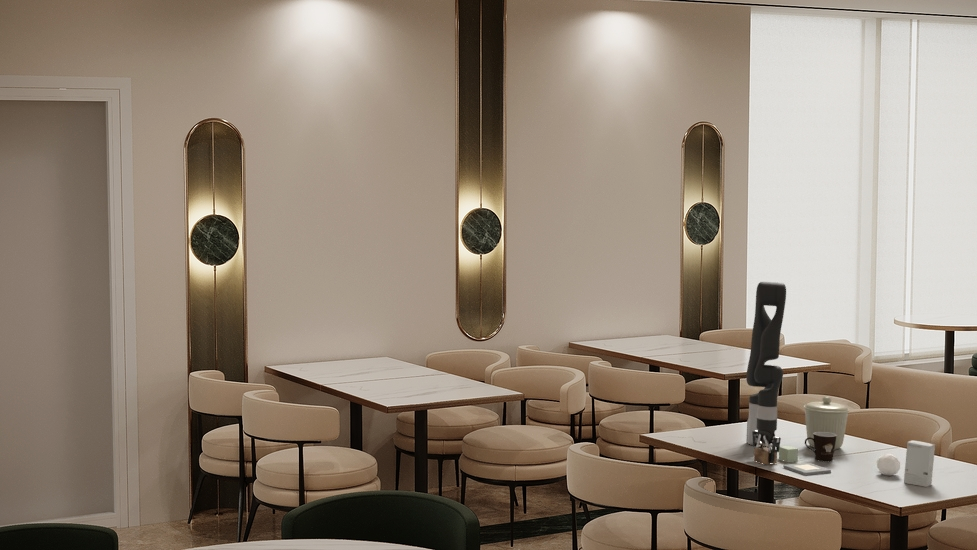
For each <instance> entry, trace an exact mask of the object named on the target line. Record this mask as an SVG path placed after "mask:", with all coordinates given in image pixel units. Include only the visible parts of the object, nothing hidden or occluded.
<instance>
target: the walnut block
mask: <svg viewBox="0 0 977 550" xmlns="http://www.w3.org/2000/svg"><path fill="white" fill-rule="evenodd" d="M771 450H772V448H771ZM768 456H769V451H768V448H767V447H763V448H756V447H754V452H753V462H754V461H757V462H760V463H763V464H769V465H771V464H770V463H769V462H768ZM777 460H778V452H776V453H775V459H774V463H777V462H778V461H777ZM757 462H756V463H757ZM760 463H759V464H760ZM763 464H762V465H763ZM777 464H778V463H777Z"/></svg>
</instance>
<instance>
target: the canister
mask: <svg viewBox="0 0 977 550" xmlns="http://www.w3.org/2000/svg"><path fill="white" fill-rule="evenodd" d="M821 400H822V401H810V402H808V403H806V404H803V409H804V412H805V413H804V415H805V427H806V428H805V429H806V439H807V438H809V437H811V438H813V439H814V436H813V433H815V432H828V433H833V434H836V435H837V436H836V443H835V449H834V451H835V450H838V449H839V450H840V449H841V447H842V446H843V444H844V438H845V434H846V428H847V421H848V414H849V412H850V411H851V409H850V408H849V407H847V406H846V405H844V404H842V403H839V402H832V398H831V397H830V396H823V397H822V398H821ZM807 442H808V444H809V447H812V448H814V441H813V440H812V439H808V440H807Z"/></svg>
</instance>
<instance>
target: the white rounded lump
mask: <svg viewBox="0 0 977 550" xmlns="http://www.w3.org/2000/svg"><path fill="white" fill-rule="evenodd" d="M876 468H877V469H878V470H879V472H880V473H881V474H883V475H884V476H888V477H889V476H894V475H896V474H898V473H899V472H900V469H901V461H900V460H899V458H898V457H896V456H895V455H893V454H892V453H884V454H882V455H880V456H879V458H878V459H877V461H876Z"/></svg>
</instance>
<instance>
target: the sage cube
mask: <svg viewBox="0 0 977 550" xmlns="http://www.w3.org/2000/svg"><path fill="white" fill-rule="evenodd" d="M779 459H781V460H780V461H782V460H784V461H783V462H785V461H786V462H785V463H795V462H798V461H799V460H798V459H799V448H797V447H794V446H791V445H787V446H786V445H784V446H780V448H779V452H778V460H779ZM794 461H795V462H794Z"/></svg>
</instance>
